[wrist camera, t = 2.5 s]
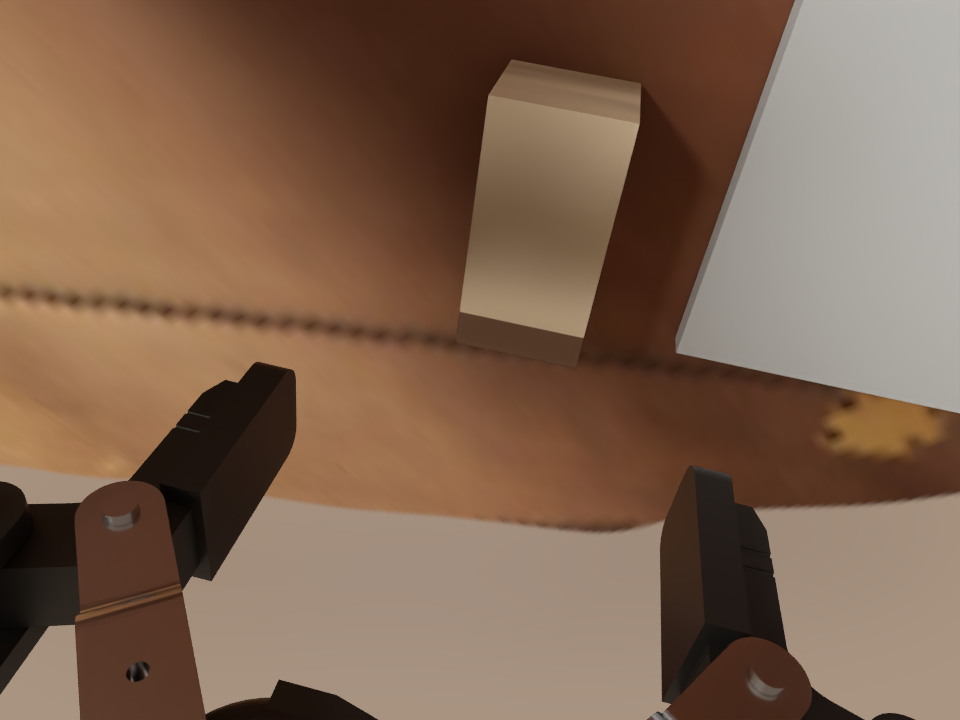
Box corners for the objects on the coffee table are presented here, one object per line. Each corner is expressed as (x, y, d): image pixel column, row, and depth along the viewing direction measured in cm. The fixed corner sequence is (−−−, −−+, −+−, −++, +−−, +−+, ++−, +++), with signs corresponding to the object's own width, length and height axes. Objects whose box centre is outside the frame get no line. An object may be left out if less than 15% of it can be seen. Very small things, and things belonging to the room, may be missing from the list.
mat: (835, -114, 18) (843, -112, 17) (1341, -32, 17) (1375, -26, 16) (675, 337, 26) (676, 352, 26) (1011, 408, 26) (1023, 426, 25)
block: (511, 59, 22) (488, 95, 19) (641, 83, 22) (639, 123, 19) (478, 283, 27) (455, 342, 24) (584, 305, 27) (575, 368, 23)
